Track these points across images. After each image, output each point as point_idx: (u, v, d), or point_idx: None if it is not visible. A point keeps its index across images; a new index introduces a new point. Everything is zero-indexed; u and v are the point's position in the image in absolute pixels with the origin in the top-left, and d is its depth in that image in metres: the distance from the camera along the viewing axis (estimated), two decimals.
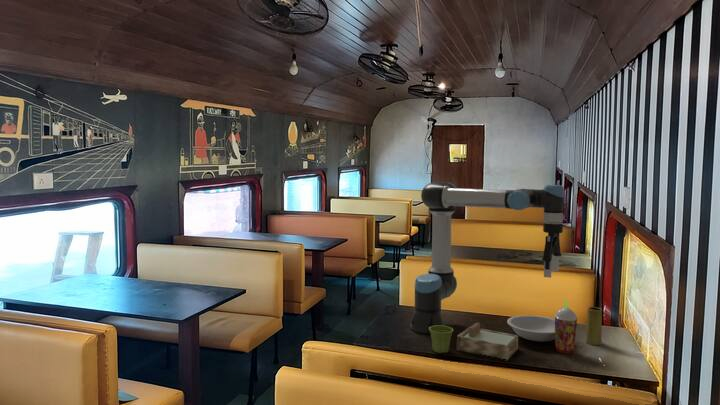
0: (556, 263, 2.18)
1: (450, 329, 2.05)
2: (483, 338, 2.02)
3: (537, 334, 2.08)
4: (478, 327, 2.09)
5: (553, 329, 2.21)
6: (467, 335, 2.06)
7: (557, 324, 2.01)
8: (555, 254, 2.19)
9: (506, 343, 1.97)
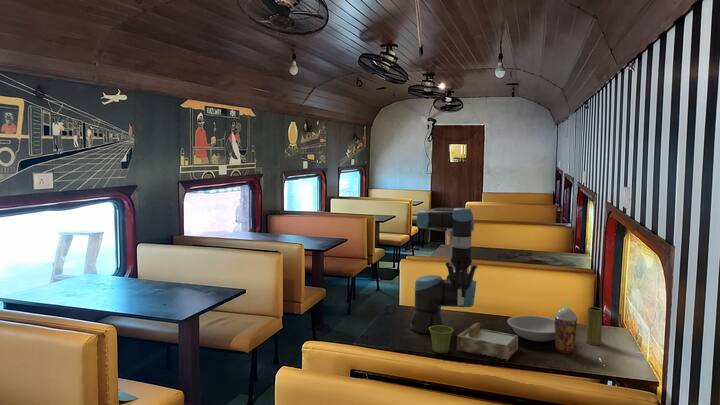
0: None
1: (450, 329, 2.05)
2: (483, 338, 2.02)
3: (537, 334, 2.08)
4: (478, 327, 2.09)
5: (553, 329, 2.21)
6: (467, 335, 2.06)
7: (557, 324, 2.01)
8: None
9: (506, 343, 1.97)
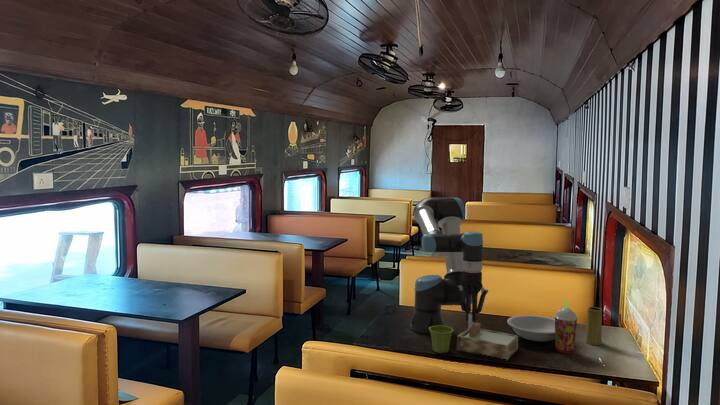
0: None
1: (450, 329, 2.05)
2: (483, 338, 2.02)
3: (537, 334, 2.08)
4: (478, 327, 2.09)
5: (553, 329, 2.21)
6: (467, 335, 2.06)
7: (557, 324, 2.01)
8: None
9: (506, 343, 1.97)
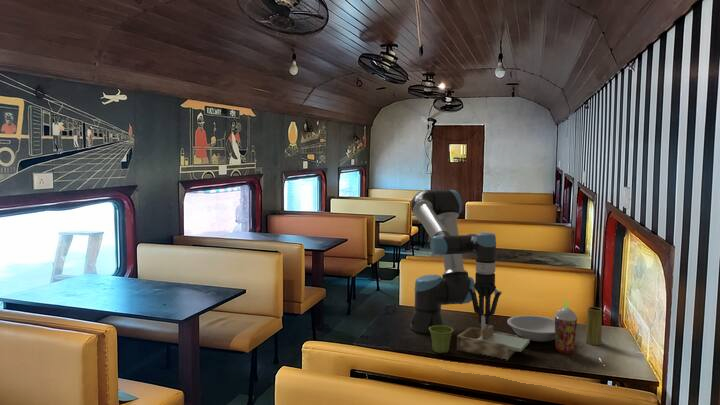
0: None
1: (450, 329, 2.05)
2: (497, 341, 1.99)
3: (537, 334, 2.08)
4: (492, 329, 2.06)
5: (553, 329, 2.21)
6: (480, 338, 2.03)
7: (557, 324, 2.01)
8: None
9: (520, 346, 1.94)
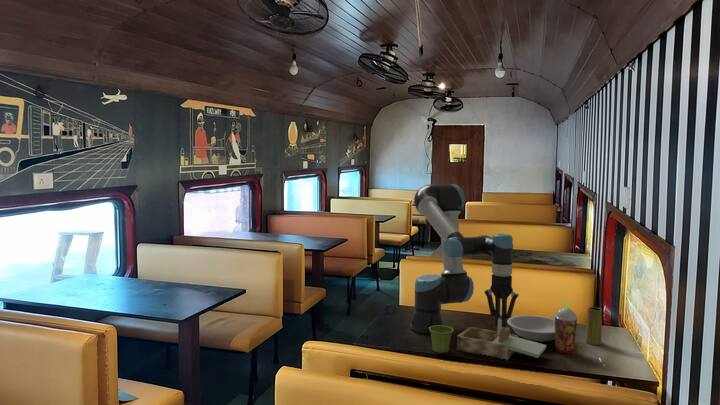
0: None
1: (450, 329, 2.05)
2: (513, 344, 1.96)
3: (537, 334, 2.08)
4: (508, 332, 2.02)
5: (553, 329, 2.21)
6: (496, 340, 1.99)
7: (557, 324, 2.01)
8: None
9: (538, 352, 1.90)
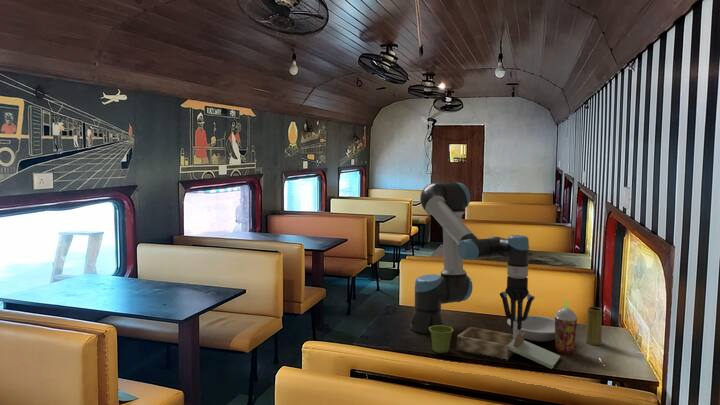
0: None
1: (450, 329, 2.05)
2: (528, 351, 1.93)
3: (537, 334, 2.08)
4: (523, 337, 1.99)
5: (553, 329, 2.21)
6: (511, 344, 1.96)
7: (557, 324, 2.01)
8: None
9: (552, 363, 1.88)
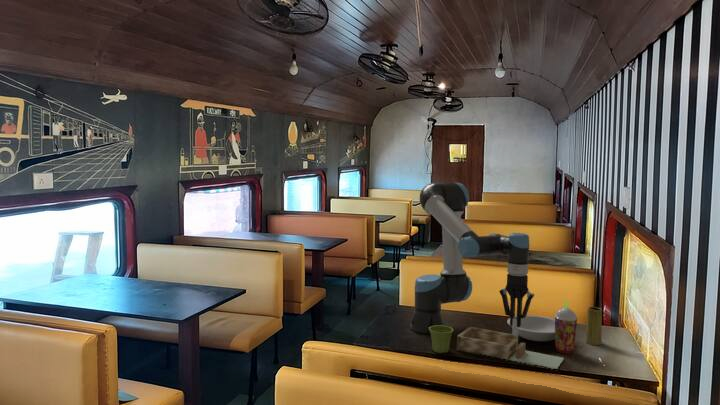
0: None
1: (450, 329, 2.05)
2: (531, 360, 1.93)
3: (537, 334, 2.08)
4: (524, 347, 1.99)
5: (553, 329, 2.21)
6: (513, 356, 1.96)
7: (557, 324, 2.01)
8: None
9: (556, 365, 1.87)
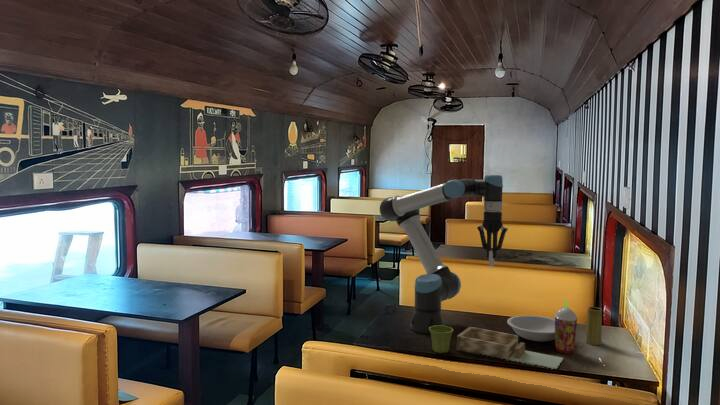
0: None
1: (450, 329, 2.05)
2: (530, 359, 1.93)
3: (537, 334, 2.08)
4: (523, 347, 1.99)
5: (553, 329, 2.21)
6: (512, 356, 1.96)
7: (557, 324, 2.01)
8: None
9: (556, 365, 1.87)
